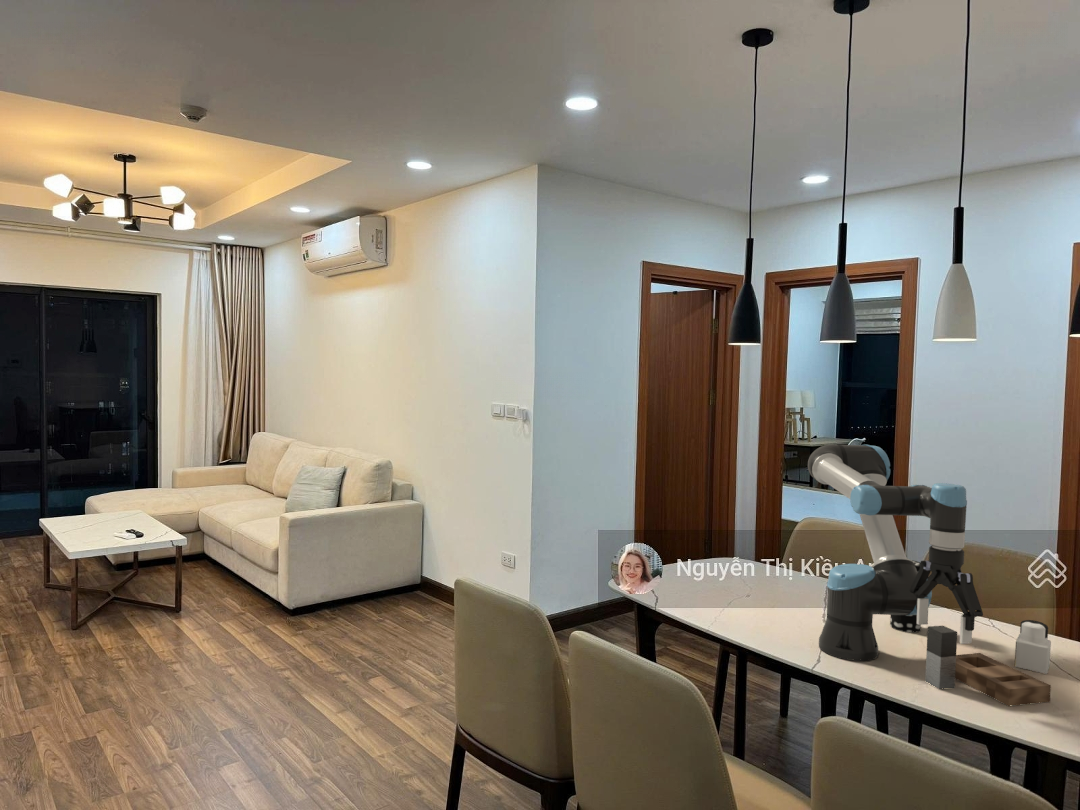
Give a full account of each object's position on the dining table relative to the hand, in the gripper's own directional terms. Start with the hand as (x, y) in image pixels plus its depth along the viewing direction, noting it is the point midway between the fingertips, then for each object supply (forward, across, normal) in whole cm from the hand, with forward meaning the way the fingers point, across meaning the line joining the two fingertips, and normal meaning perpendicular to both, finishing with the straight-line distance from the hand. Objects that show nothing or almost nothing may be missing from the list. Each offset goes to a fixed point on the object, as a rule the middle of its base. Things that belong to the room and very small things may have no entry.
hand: (943, 633), depth 177 cm
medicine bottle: (+13, +6, -34) cm, 37 cm away
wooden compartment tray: (+13, -2, -13) cm, 19 cm away
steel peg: (+13, 0, 0) cm, 13 cm away
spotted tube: (+13, +38, -22) cm, 45 cm away
